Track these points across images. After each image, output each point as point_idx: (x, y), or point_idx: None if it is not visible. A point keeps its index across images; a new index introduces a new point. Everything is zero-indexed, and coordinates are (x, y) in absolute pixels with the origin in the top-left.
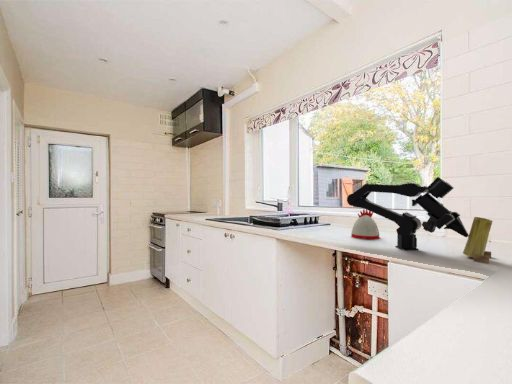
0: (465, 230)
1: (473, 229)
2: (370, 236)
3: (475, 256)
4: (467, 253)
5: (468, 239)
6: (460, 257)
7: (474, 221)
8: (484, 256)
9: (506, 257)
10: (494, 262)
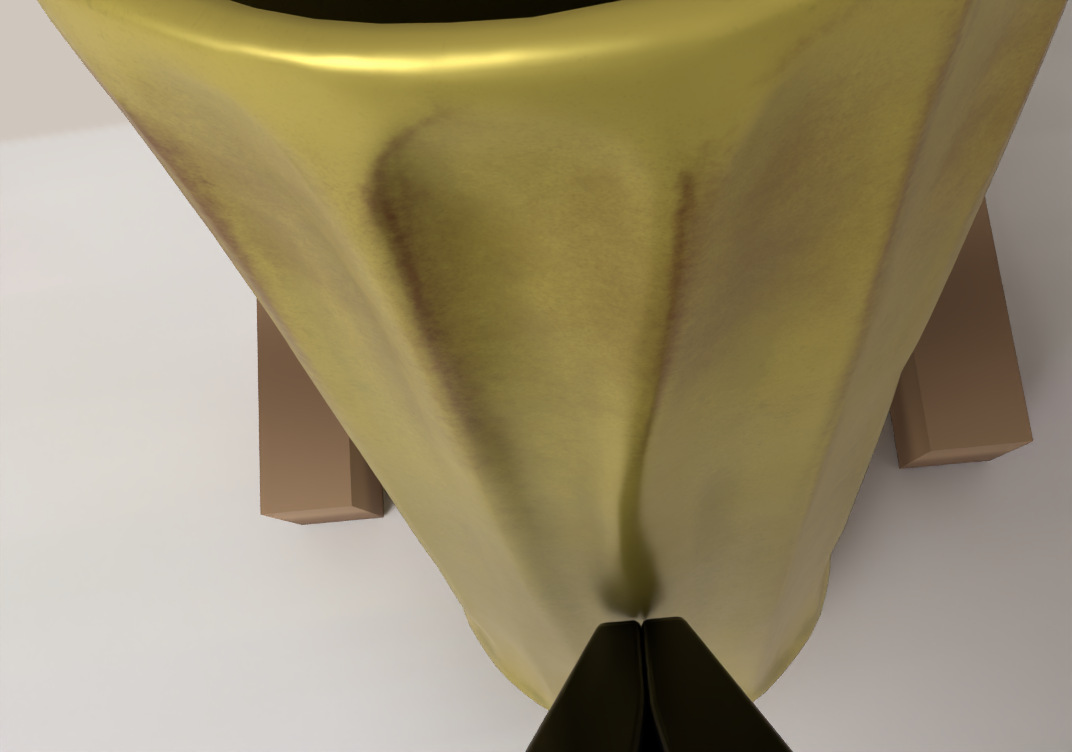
0: (716, 741)
1: (895, 370)
2: None
3: (1022, 416)
4: (817, 605)
5: (781, 597)
6: (824, 733)
7: (923, 180)
8: (969, 267)
9: (119, 137)
10: None
